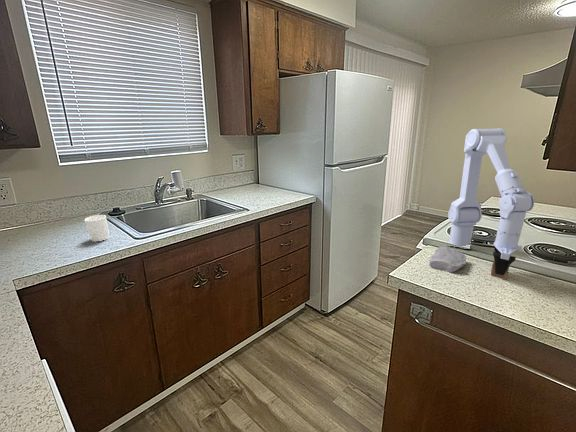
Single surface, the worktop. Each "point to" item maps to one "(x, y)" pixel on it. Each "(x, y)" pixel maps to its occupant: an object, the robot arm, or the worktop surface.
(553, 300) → the worktop surface
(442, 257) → the stone block
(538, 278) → the worktop surface
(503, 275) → the walnut block
